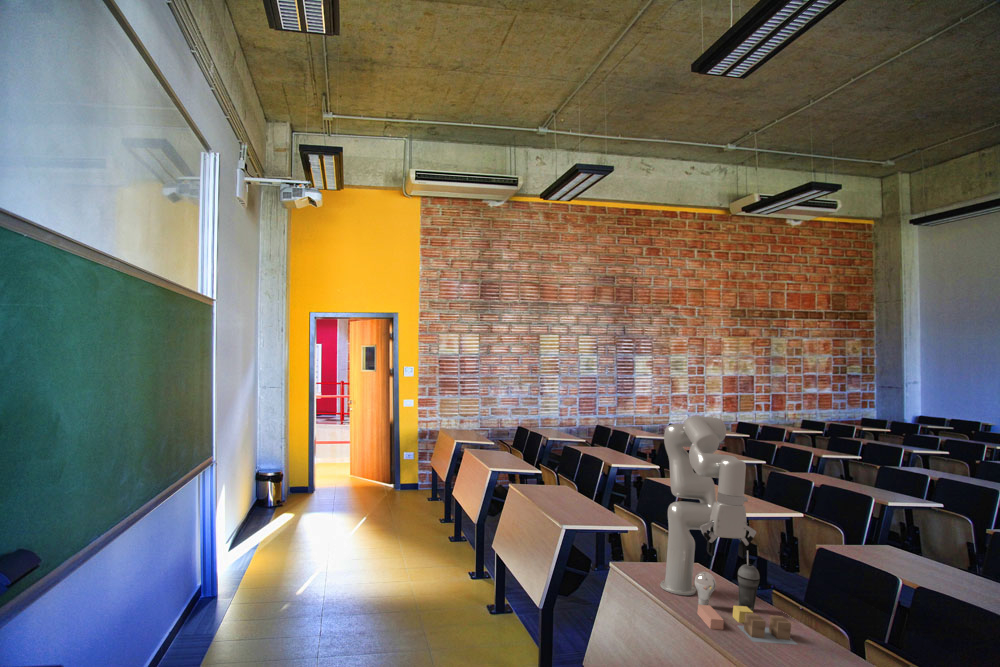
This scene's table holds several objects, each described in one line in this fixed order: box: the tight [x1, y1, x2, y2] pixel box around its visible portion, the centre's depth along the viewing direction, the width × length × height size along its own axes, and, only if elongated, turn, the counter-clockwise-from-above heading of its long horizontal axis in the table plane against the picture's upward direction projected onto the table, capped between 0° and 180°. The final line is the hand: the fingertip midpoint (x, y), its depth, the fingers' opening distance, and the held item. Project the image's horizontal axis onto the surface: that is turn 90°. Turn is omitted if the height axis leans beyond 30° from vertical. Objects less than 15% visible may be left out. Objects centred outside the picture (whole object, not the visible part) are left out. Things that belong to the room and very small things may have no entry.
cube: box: [732, 605, 754, 624], centre depth 196 cm, size 4×4×4 cm
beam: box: [696, 604, 725, 631], centre depth 193 cm, size 11×4×4 cm, turn 2°
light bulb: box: [693, 571, 717, 605], centre depth 206 cm, size 7×7×12 cm
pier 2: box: [768, 615, 792, 640], centre depth 187 cm, size 5×4×5 cm
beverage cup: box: [736, 550, 761, 612], centre depth 207 cm, size 7×7×20 cm
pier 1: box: [743, 613, 766, 638], centre depth 186 cm, size 5×4×5 cm
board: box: [736, 624, 799, 646], centre depth 186 cm, size 11×14×1 cm
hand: (726, 555), depth 186 cm, fingers open, 9 cm apart
